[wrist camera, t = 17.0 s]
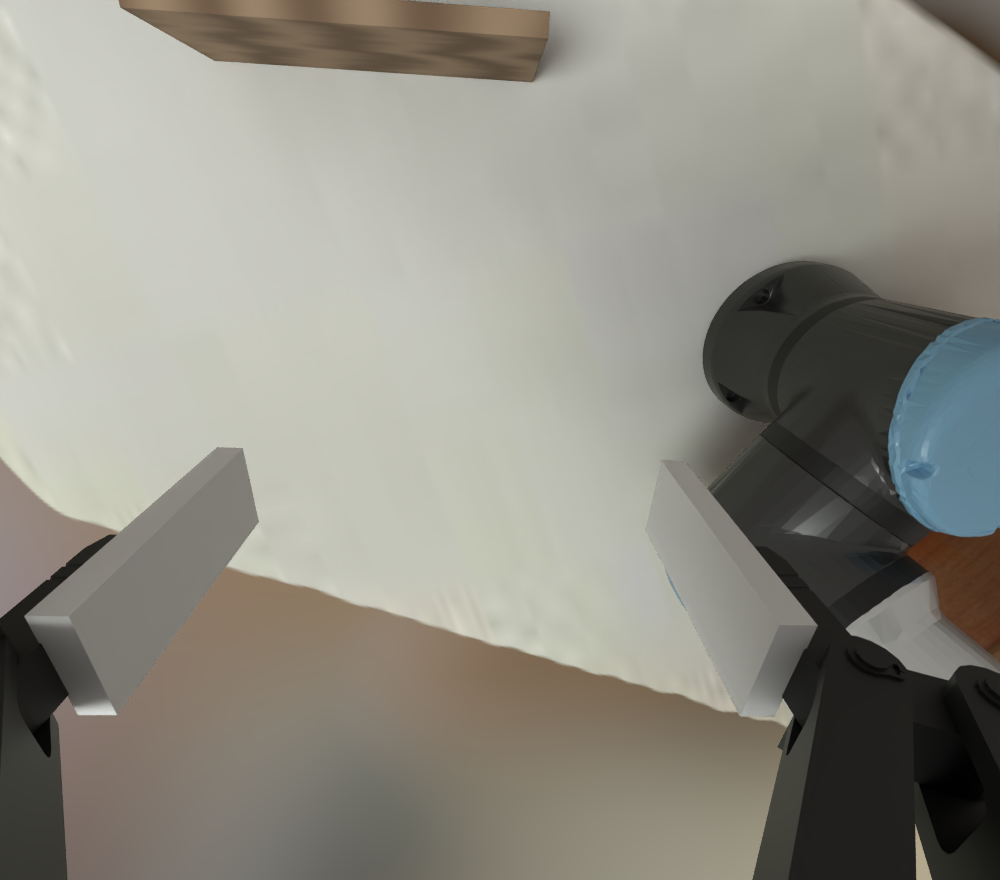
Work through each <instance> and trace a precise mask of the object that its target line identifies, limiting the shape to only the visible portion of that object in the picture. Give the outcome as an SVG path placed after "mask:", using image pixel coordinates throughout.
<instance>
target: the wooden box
mask: <svg viewBox="0 0 1000 880" xmlns="http://www.w3.org/2000/svg"><path fill="white" fill-rule="evenodd" d="M907 554H908V555H909V556H910V557H911V558H912V559H913V560H915V561H916V562H917V563H919V564H920V565H921V566H922V567H924V568H925V569H926V570H928V571H929V572H931V573H932V574H933V575H934V576H935V578H936V585H937V592H938V598H939V605H940V610H941V611H942V612H943V614H944V615H945V616H946V618H947V619H948V620H949V621H951V622H952V623H953V624H954V625H956V626H957V627H958V628H959V629H961V630H962V631H963V632H964V633H965V634H967V635H968V636H969V637H970V638H972V639H973V640H974V641H975V642H977V643H978V644H979V645H980V646H981V647H983V648H984V649H985V650H986V651H988V652H989V653H990V654H991V655H993V656H994V657H995V658H996V659H997V660H999V661H1000V528H998V527H997V529H996V530H995V532H994V533H993V534H991V535H987V536H981V537H959V536H954V535H949V534H945V533H942V532H936V531H932V532H931V533H929V534H928V535H927V536H926V537H924V538H923V539H922V540H921V541H919V542H918V543H917V544H915V545H914V546H913V547H911V548H910V549H909V550H908V551H907Z"/></svg>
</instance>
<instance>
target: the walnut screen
mask: <svg viewBox="0 0 1000 880" xmlns="http://www.w3.org/2000/svg"><path fill="white" fill-rule="evenodd" d="M119 4H120V7H121V8H122V9H124V10H126V11H128V12H129V13H131V14H133V15H135V16H136V17H138V18H140V19H142V20H144V21H145V22H147V23H149V24H151V25H152V26H154V27H156V28H158V29H159V30H161V31H163V32H165V33H166V34H168V35H170V36H172V37H174V38H175V39H177V40H179V41H181V42H182V43H184V44H186V45H188V46H189V47H191V48H193V49H195V50H197V51H198V52H200V53H202V54H204V55H205V56H207V57H209V58H211V59H212V60H214V61H228V62H242V63H257V64H272V65H286V66H301V67H316V68H331V69H345V70H360V71H375V72H390V73H404V74H419V75H434V76H449V77H463V78H478V79H493V80H507V81H522V82H532V81H533V79H534V76H535V73H536V70H537V67H538V65H539V62H540V59H541V56H542V54H543V51H544V48H545V45H546V42H547V40H548V31H549V17H550V12H549V11H536V10H522V9H509V8H496V7H483V6H469V5H456V4H443V3H429V2H416V1H403V0H119Z"/></svg>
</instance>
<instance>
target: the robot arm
mask: <svg viewBox="0 0 1000 880" xmlns="http://www.w3.org/2000/svg"><path fill="white" fill-rule="evenodd" d="M703 368H704V373H705V377H706V380H707V382H708V384H709V386H710V388H711V390H712V391H713V393H714V394H715V395H716V396H717V398H718V399H719V400H721V401H722V402H723V403H724V404H725V405H727V406H728V407H729V408H731V409H732V410H733V411H735V412H736V413H738V414H740V415H742V416H744V417H746V418H749V419H752V420H756V421H760V422H766V423H771V424H770V425H769V426H768V427H767V429H766V430H765V431H764V432H763V433H761V434H760V435H759V436H758V437H757V438H756V439H755V440H754V441H753V442H752V443H751V444H750V445H749V446H748V447H747V448H746V450H745V451H744V452H743V453H742V454H741V455H740V456H739V457H738V458H737V459H736V460H735V461H734V462H733V463H732V464H731V465H730V466H729V467H728V468H727V469H726V470H725V471H724V472H723V473H722V474H721V475H720V476H719V477H718V478H717V479H716V480H715V481H714V482H713V483H712V484H711V485H710V486H709V487H708V488H706V487H705V485H704V484H703V483H702V482H701V480H700V479H699V478H698V477H697V476H696V474H695V473H694V472H693V471H692V469H691V468H690V467H689V466H688V464H687V463H686V462H685V461H666V460H661V465H660V469H659V473H658V478H657V482H656V486H655V491H654V495H653V500H652V504H651V508H650V513H649V517H648V521H647V526H646V532H647V534H648V536H649V538H650V540H651V542H652V544H653V546H654V548H655V550H656V552H657V554H658V556H659V558H660V560H661V562H662V564H663V566H664V568H665V571H666V573H667V576H668V579H669V581H670V583H671V585H672V588H673V589H674V591H675V593H676V595H677V597H678V598H679V600H680V602H681V603H682V605H683V606H684V608H685V610H686V611H687V613H688V615H689V617H690V619H691V621H692V623H693V625H694V627H695V629H696V631H697V633H698V634H699V636H700V638H701V640H702V642H703V644H704V646H705V648H706V650H707V652H708V654H709V656H710V658H711V660H712V662H713V664H714V666H715V668H716V670H717V672H718V674H719V676H720V678H721V680H722V682H723V684H724V686H725V688H726V690H727V692H728V694H729V696H730V697H731V699H732V701H733V703H734V705H735V707H736V709H737V711H738V713H739V715H740V716H775V713H776V711H777V709H778V707H779V705H780V703H781V701H782V699H783V698H784V700H785V702H786V703H787V705H788V707H789V708H790V710H791V711H792V713H793V715H794V716H793V718H792V720H791V722H790V724H789V726H788V727H787V729H786V732H785V734H784V735H783V738H782V739H781V741H780V743H779V745H778V748H780V749H782V750H783V752H782V756H781V761H780V764H779V769H778V773H777V777H776V782H775V786H774V790H773V794H772V799H771V803H770V807H769V812H768V816H767V821H766V825H765V829H764V833H763V837H762V842H761V846H760V850H759V854H758V859H757V863H756V867H755V871H754V876H753V880H916V848H915V824H916V827H917V830H918V834H919V837H920V840H921V843H922V847H923V850H924V853H925V857H926V860H927V864H928V867H929V870H930V873H931V877H932V880H1000V661H999V660H997V659H996V658H995V657H994V656H993V655H991V654H990V653H989V652H988V651H986V650H985V649H984V648H983V647H981V646H980V645H979V644H978V643H977V642H975V641H974V640H973V639H972V638H970V637H969V636H968V635H967V634H965V633H964V632H963V631H962V630H961V629H959V628H958V627H957V626H956V625H954V624H953V623H952V622H951V621H949V620H948V619H947V618H946V616H945V615H944V614H943V612H942V611H941V610H940V605H939V598H938V592H937V585H936V578H935V576H934V575H933V574H932V573H931V572H929V571H928V570H926V569H925V568H924V567H922V566H921V565H920V564H919V563H917V562H916V561H915V560H913V559H912V558H911V557H910V556H909V555H908V554H907V551H908V550H909V549H910V548H911V547H913V546H914V545H915V544H917V543H918V542H919V541H921V540H922V539H923V538H924V537H926V536H927V535H928V534H929V533H931V532H932V531H936V532H942V533H945V534H949V535H954V536H959V537H981V536H987V535H991V534H993V533H994V532H995V530H996V529H997V527H998V528H1000V320H998V319H995V320H994V319H990V318H975V317H970V316H965V315H960V314H955V313H950V312H945V311H940V310H935V309H930V308H925V307H920V306H915V305H910V304H905V303H900V302H895V301H890V300H885V299H881V298H880V297H879V296H878V295H876V294H875V293H874V292H873V291H872V290H871V289H870V288H868V287H867V286H866V285H865V284H864V283H863V282H861V281H860V280H859V279H858V278H857V277H856V276H854V275H853V274H851V273H849V272H847V271H845V270H843V269H841V268H838V267H835V266H832V265H827V264H821V263H814V262H791V263H785V264H781V265H778V266H774V267H772V268H769V269H767V270H765V271H762V272H761V273H759V274H757V275H755V276H754V277H752V278H750V279H749V280H747V281H746V282H745V283H743V284H742V285H741V286H740V287H739V288H737V289H736V290H735V291H734V292H733V293H732V294H731V295H730V296H729V297H728V299H727V300H726V301H725V302H724V303H723V305H722V306H721V307H720V309H719V310H718V312H717V314H716V315H715V317H714V319H713V321H712V323H711V325H710V327H709V330H708V333H707V336H706V339H705V344H704V350H703ZM258 522H259V521H258V516H257V512H256V507H255V502H254V498H253V493H252V489H251V484H250V479H249V475H248V470H247V466H246V461H245V456H244V452H243V448H219V447H217V448H216V449H215V450H214V451H212V452H211V453H210V454H209V455H208V456H207V457H206V458H204V459H203V460H202V461H201V462H200V463H199V464H198V465H196V466H195V467H194V468H193V469H192V470H191V471H190V472H188V473H187V474H186V475H185V476H184V477H183V478H182V479H180V480H179V481H178V482H177V483H176V484H175V485H174V486H172V487H171V488H170V489H169V490H168V491H167V492H166V493H164V494H163V495H162V496H161V497H160V498H159V499H158V500H156V501H155V502H154V503H153V504H152V505H151V506H149V507H148V508H147V509H146V510H145V511H144V512H143V513H141V514H140V515H139V516H138V517H137V518H136V519H135V520H133V521H132V522H131V523H130V524H129V525H128V526H127V527H125V528H124V529H123V530H122V531H121V532H120V533H119V534H117V535H108V536H106V537H104V538H102V539H100V540H99V541H97V542H95V543H93V544H92V545H89V546H87V547H86V548H84V549H83V550H82V551H80V552H79V553H78V554H77V555H76V556H75V557H73V558H72V559H71V560H70V561H69V562H68V563H66V566H65V567H61V568H60V569H59V570H58V571H57V572H55V573H54V574H53V575H52V576H51V579H50V580H46V581H45V582H43V583H42V584H41V585H40V586H39V587H38V588H36V589H35V590H34V591H33V592H31V593H30V594H29V595H28V596H27V597H25V598H24V599H23V600H22V601H21V602H19V603H18V604H17V605H16V606H15V607H13V608H12V609H11V610H10V611H9V612H7V613H6V614H5V615H4V616H3V617H1V618H0V880H67V864H66V847H65V829H64V813H63V796H62V778H61V761H60V745H59V728H58V723H57V721H56V719H55V717H54V715H53V712H54V711H55V710H56V709H57V707H58V706H59V705H60V704H61V703H62V702H63V700H64V699H65V698H66V697H67V696H68V697H69V699H70V701H71V703H72V705H73V706H74V708H75V710H76V712H77V714H78V715H117V714H118V713H119V711H120V710H121V709H122V707H123V706H124V705H125V703H126V702H127V700H128V699H129V697H130V696H131V695H132V694H133V692H134V691H135V690H136V688H137V687H138V686H139V684H140V683H141V681H142V680H143V679H144V677H145V676H146V675H147V673H148V672H149V671H150V669H151V668H152V666H153V665H154V664H155V662H156V661H157V660H158V658H159V657H160V655H161V654H162V653H163V651H164V650H165V649H166V647H167V646H168V645H169V643H170V642H171V641H172V639H173V638H174V637H175V635H176V634H177V632H178V631H179V630H180V628H181V627H182V626H183V624H184V623H185V622H186V620H187V619H188V617H189V616H190V615H191V613H192V612H193V611H194V609H195V608H196V607H197V605H198V604H199V602H200V601H201V600H202V598H203V597H204V596H205V594H206V593H207V592H208V590H209V589H210V587H211V586H212V585H213V583H214V582H215V581H216V579H217V578H218V577H219V575H220V574H221V572H222V571H223V570H224V568H225V567H226V566H227V564H228V563H229V562H230V560H231V559H232V557H233V556H234V555H235V553H236V552H237V551H238V549H239V548H240V547H241V545H242V544H243V543H244V541H245V540H246V538H247V537H248V536H249V534H250V533H251V532H252V530H253V529H254V528H255V526H256V525H257V523H258Z"/></svg>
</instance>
